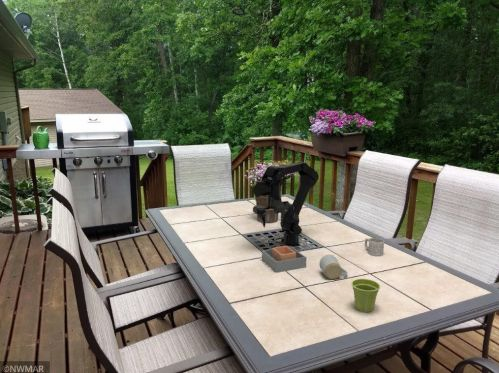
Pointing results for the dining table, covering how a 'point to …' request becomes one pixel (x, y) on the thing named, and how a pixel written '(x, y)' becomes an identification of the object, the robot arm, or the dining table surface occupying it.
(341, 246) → the dining table surface
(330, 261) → the ceramic mug
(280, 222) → the robot arm
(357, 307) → the plant pot
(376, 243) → the mug
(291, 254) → the small crate
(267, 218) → the plant pot
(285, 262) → the big crate
